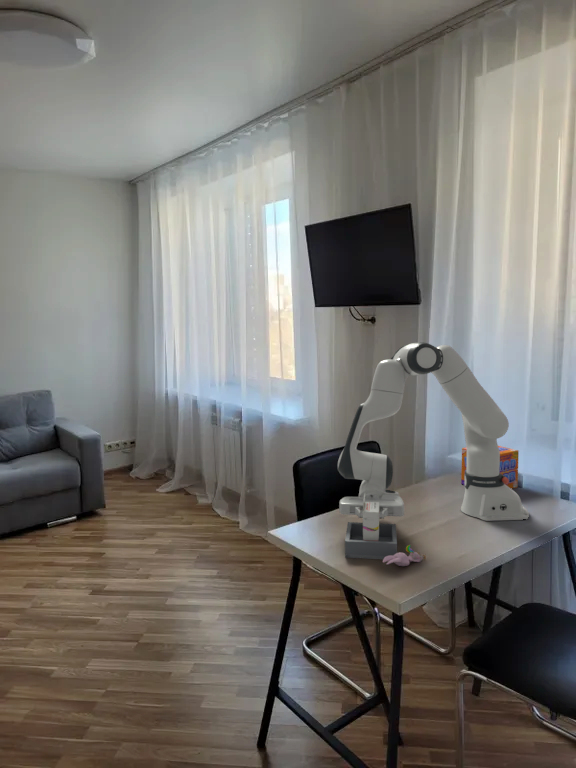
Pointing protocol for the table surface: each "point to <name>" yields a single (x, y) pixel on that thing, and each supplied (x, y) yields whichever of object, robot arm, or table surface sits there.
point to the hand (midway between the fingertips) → (371, 515)
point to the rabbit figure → (404, 557)
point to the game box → (506, 465)
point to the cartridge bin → (370, 542)
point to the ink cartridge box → (370, 521)
